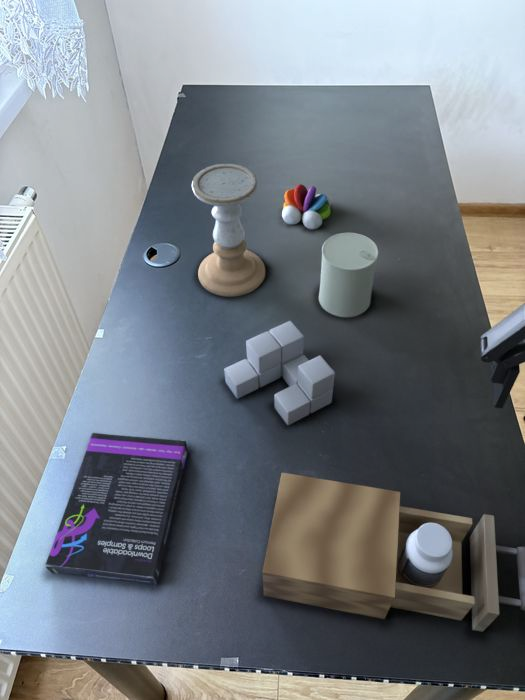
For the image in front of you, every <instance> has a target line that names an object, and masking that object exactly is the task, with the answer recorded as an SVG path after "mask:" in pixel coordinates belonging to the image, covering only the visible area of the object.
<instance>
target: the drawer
mask: <svg viewBox="0 0 525 700" xmlns="http://www.w3.org/2000/svg"><path fill="white" fill-rule="evenodd" d="M426 523H436V524H439V525H441V526H443V527H444V528H445V529H446V530H447V531H448V532H449V534H450V536H451V538H452V552H453V555H452V560H451V563H450V565H449V567H448V568H447V570H446V572H445V573H444V575H443V577H442V578H441V580H440V582H439V583H438V584H437V585H436V586H435V587H433V588H425V587H420V586H415V585H409V584H408V583H406V582H405V580H404V579H403V578H402V576H401V574H400V571H399V559H400V556H401V553H402V551H403V548H404V546H405V544H406V541H407V539H408V537H409V536H410V534H411V533H412V532H414V531H415V530H417V529H419V527H420V526H422V525H423V524H426ZM472 526H473V518H472V517H466V516H460V515H454V514H448V513H442V512H437V511H432V510H431V511H430V510H427V509H419V508H414V507H409V506H408V507H407V506H403V505H402V506H401V505H400V510H399V529H398V548H397V568H396V587H395V598H394V600H393V602H392V604H391V607H390V608H394V609H400V610H404V611H410V612H414V613H419V614H425V615H431V616H435V617H436V616H437V617H441V618H446V619H451V620H455V621H462V620H463V619H464V618H465V617H466V615H467V614H468V613H469V612H470V611H471V630H472V631H476V632H481V633H483V632H485V630H486V629H487V628H488V627H489V626H490V625H492V623H493V622H494V621H495V620H496V619H497V618H498V616H500V604H504V605H509V606H515V607H520V610H521V611H525V546H517V547H516V548H514V547H509V546H504V545H498V544H496V543H497V542H496V526H495V515H492V514H486V513H484V514H483V515H482V516H481V518H480V520H479V521H478V523H477V524H476V526H475V528H474V529H473V531H472V533H471V535H470V536H469V553H470V554H469V556H470V593H471V594H470V595H468V594H463V557H462V556H463V555H462V553H463V552H462V551H463V550H462V548H463V547H462V542H463V541H464V539H465V537H466V536H467V534H468V532H469V531H470V530H471V527H472ZM497 553H502V554H508V555H514V556H516V566H517V567H516V568H517V579H518V580H517V581H518V591H519V592H518V593H519V598H513V597H507V596H503V595H499V582H498V563H497V562H498V561H497Z"/></svg>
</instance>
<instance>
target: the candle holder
mask: <svg viewBox="0 0 525 700" xmlns="http://www.w3.org/2000/svg"><path fill="white" fill-rule="evenodd" d="M257 189H258V179H257V176H256V174H255V173H254V172H253V171H252V169H249V168H248V167H245V166H243V165H240V164H237V163H236V164H235V163H217V164H213V165H209V166H207V167H205V168H203V169H201V170H200V171H199V172H197V173H196V174H195V175H194V177H193V179H192V181H191V190H192V193H193V195H194V196H195V197H196V198H197V199H198V200H199V201H200V202H202V203H204V204H208V205H211V206H213V207H212V209H211V215H212V217H213V218H214V219H215V224H214V228H213V231H212V238H213V240H214V243H213V245H212V250H213V252H212V253H210V254H208V256H206V257H205V258H204V259H203V260H202V261H201V263H200V265H199V268H198V271H197V273H198V274H197V275H198V280H199V282H200V284H201V286H202V287H203V288H204V289H205V290H206V291H208V292H209V293H211V294H214V295H216V296H220V297H227V298H228V297H229V298H230V297H231V298H232V297H240V296H244V295H246V294H247V295H248V294H249V293H252V292H253V291H256V289H258V288H259V287H260V285H262V283H263V282H264V280H265V277H266V267H265V264H264V262H263V260H262V258H261V257H259V256H258V255H257V254H255V253H254V252H253V251H250V250H248V249H247V243H246V241H245V236H246V234H245V229H244V227H243V225H242V223H241V220H240V219H241V218H240V217H241V216H242V214H243V209H242V207H241V205H240V204H242V203H244V202H246V201H247V200H249V199H251V198H252V197H253V196H254V194H256V191H257Z"/></svg>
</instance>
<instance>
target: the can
mask: <svg viewBox="0 0 525 700" xmlns="http://www.w3.org/2000/svg"><path fill="white" fill-rule="evenodd" d="M378 259H379V248H378V246H377V244H376V242H374V240H372V239H371V238H369V237H368V236H367V235H364V234H360V233H358V232H357V233H356V232H340V233H336V234H333V235H332V236H330V237H329V238H327V239H326V240H325V241H324V243H322V247H321V267H320V268H321V269H320V280H319V281H320V282H319V292H318V301H319V304H320V306H321V308H322V309H323V310H324V311H326V312H327V313H329V314H331V315H333V316H336V317H340V318H353V317H357V316H359V315H361V314H363V313H365V312H366V311H367V310H368V309H369V307H370V305H371V302H372V301H371V299H372V292H373V291H372V290H373V285H374V281H375V280H374V279H375V274H376V273H375V272H376V267H377V262H378Z"/></svg>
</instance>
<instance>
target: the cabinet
mask: <svg viewBox="0 0 525 700" xmlns="http://www.w3.org/2000/svg"><path fill="white" fill-rule="evenodd" d="M400 506H401V491H395V490H392V489H391V490H390V489H385V488H379V487H372V486H367V485H361V484H353V483H349V482H348V483H347V482H341V481H336V480H330V479H324V478H317V477H312V476H307V475H306V476H305V475H300V474H294V473H287V472H281V476H280V478H279V485H278V490H277V495H276V501H275V505H274V510H273V516H272V522H271V526H270V530H269V531H270V532H269V537H268V542H267V547H266V552H265V557H264V562H263V568H262V587H263V596H264V597H269V598H274V599H279V600H284V601H289V602H294V603H299V604H304V605H310V606H315V607H320V608H325V609H330V610H335V611H340V612H345V613H351V614H355V615H361V616H366V617H372V618H377V619H381V620H385V619H386V617H387V615H388V613H389V611H390V609H391V608H392V607H391V604H392V602H393V600H394V598H395V587H396V568H397V548H398V529H399V510H400Z"/></svg>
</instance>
